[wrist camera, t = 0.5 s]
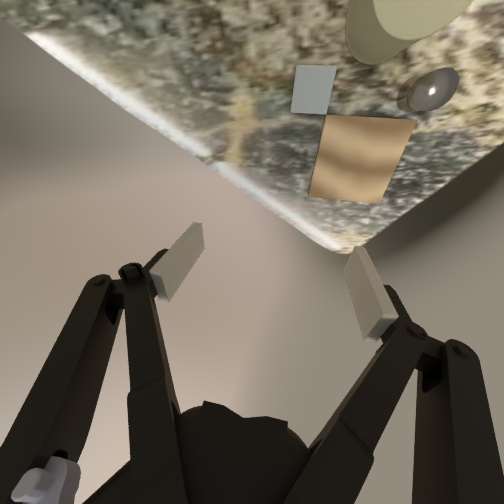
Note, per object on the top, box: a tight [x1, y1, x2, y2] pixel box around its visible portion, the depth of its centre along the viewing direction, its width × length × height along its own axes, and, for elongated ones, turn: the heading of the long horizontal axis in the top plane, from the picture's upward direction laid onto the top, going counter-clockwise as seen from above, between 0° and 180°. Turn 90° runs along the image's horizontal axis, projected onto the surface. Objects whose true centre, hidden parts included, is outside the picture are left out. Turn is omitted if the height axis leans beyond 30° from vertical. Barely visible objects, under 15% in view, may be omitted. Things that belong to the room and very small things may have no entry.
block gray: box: [291, 65, 337, 114], centre depth 28 cm, size 5×5×5 cm
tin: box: [397, 68, 459, 111], centre depth 26 cm, size 4×4×6 cm
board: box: [308, 115, 417, 204], centre depth 34 cm, size 13×13×1 cm
